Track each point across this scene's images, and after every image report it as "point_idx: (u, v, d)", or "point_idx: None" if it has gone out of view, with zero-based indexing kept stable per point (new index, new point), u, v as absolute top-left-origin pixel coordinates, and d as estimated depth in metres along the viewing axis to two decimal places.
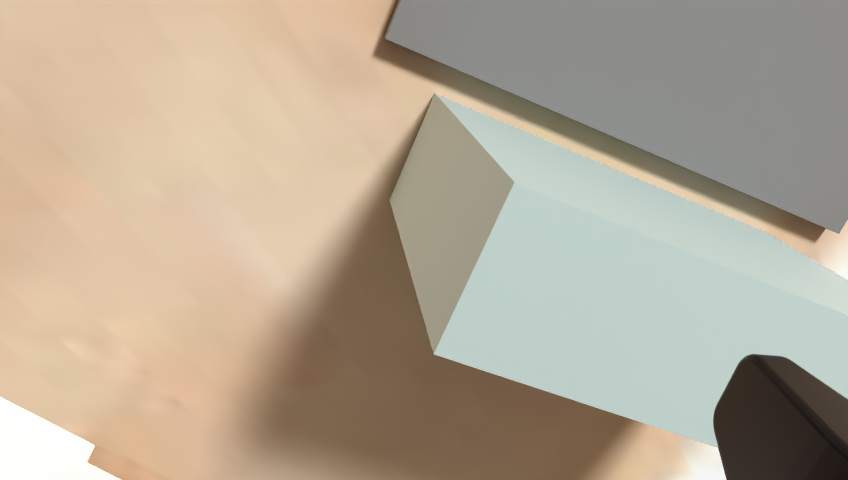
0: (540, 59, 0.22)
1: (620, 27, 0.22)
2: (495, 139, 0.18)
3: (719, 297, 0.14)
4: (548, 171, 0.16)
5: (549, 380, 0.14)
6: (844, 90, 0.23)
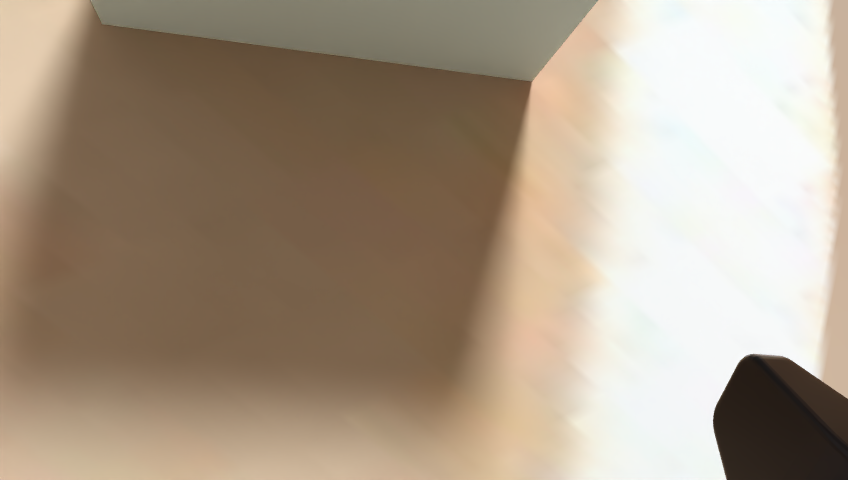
0: None
1: None
2: None
3: None
4: None
5: None
6: None
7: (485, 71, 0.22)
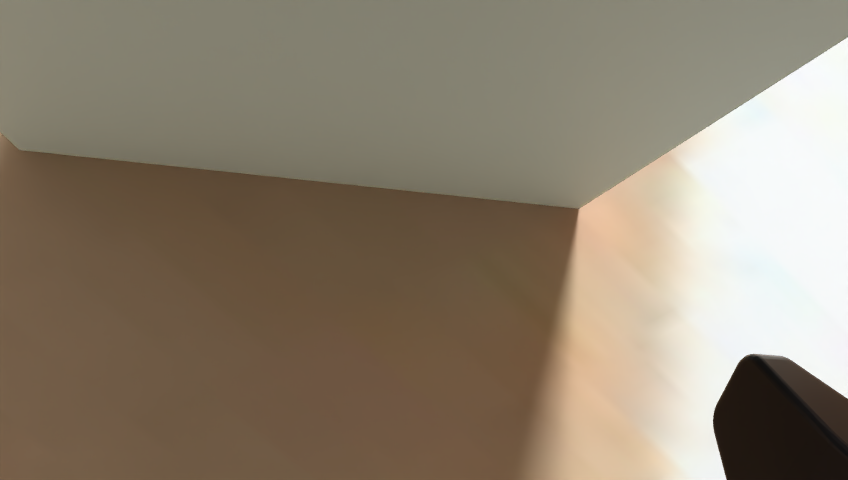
0: None
1: None
2: None
3: None
4: None
5: None
6: None
7: (521, 199, 0.17)
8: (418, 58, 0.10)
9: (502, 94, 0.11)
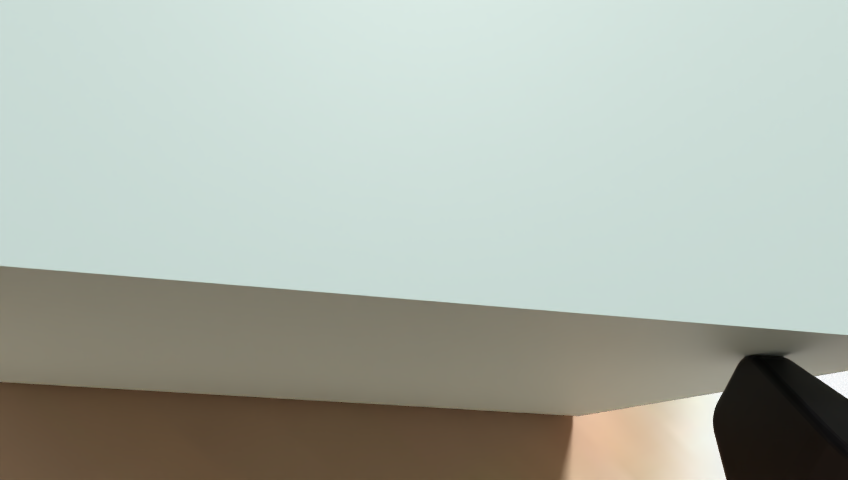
0: None
1: None
2: None
3: None
4: None
5: None
6: None
7: (517, 411, 0.16)
8: (399, 360, 0.09)
9: (494, 375, 0.10)
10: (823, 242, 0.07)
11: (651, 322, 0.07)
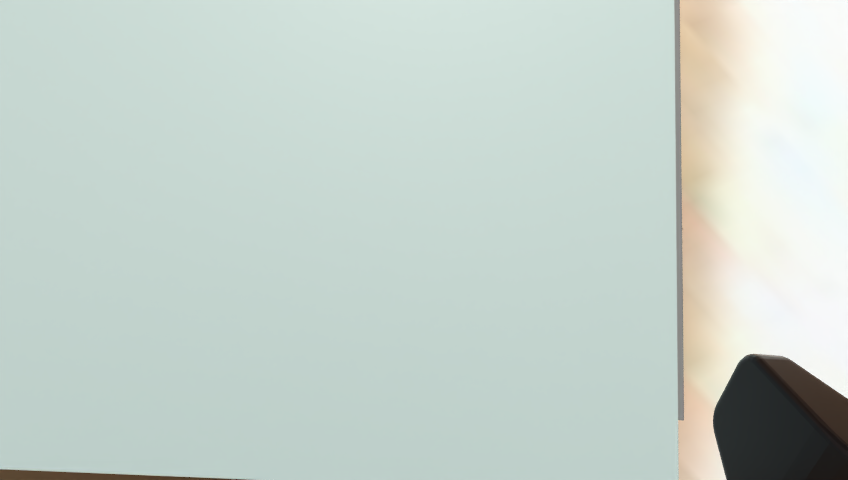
0: None
1: None
2: None
3: None
4: None
5: None
6: None
7: (591, 474, 0.12)
8: (399, 66, 0.13)
9: (482, 124, 0.13)
10: None
11: None
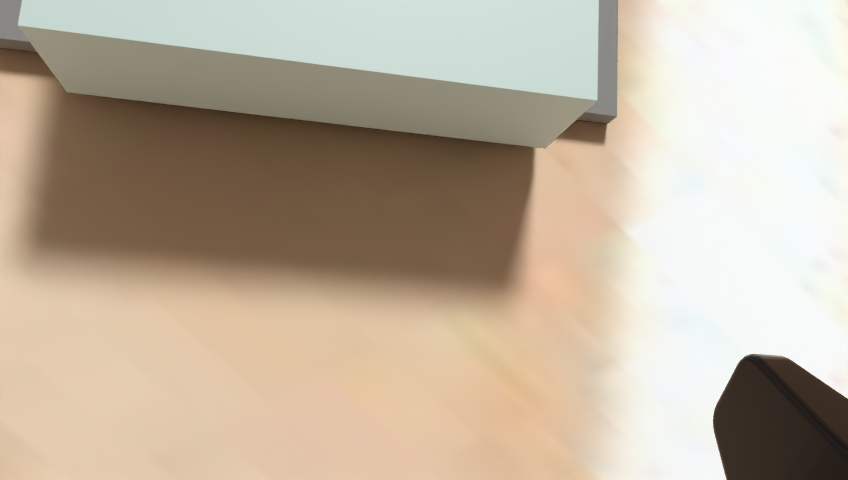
0: None
1: None
2: None
3: None
4: None
5: None
6: None
7: (535, 80, 0.17)
8: None
9: None
10: None
11: None
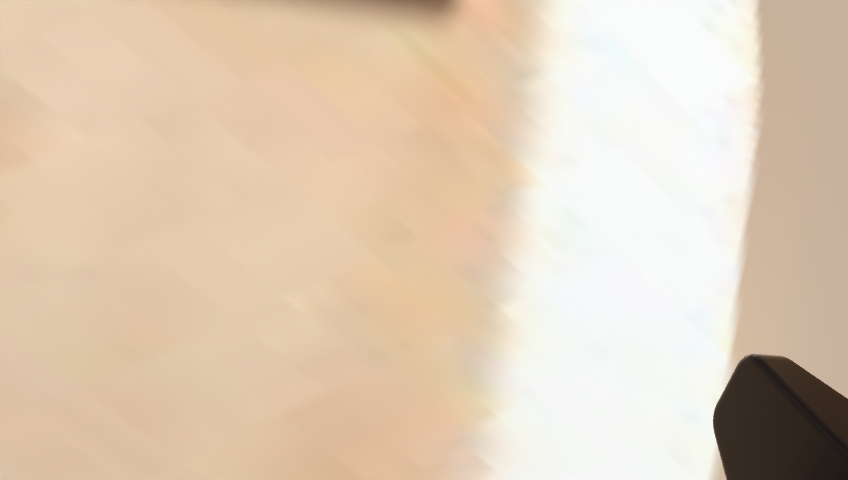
0: None
1: None
2: None
3: None
4: None
5: None
6: None
7: None
8: None
9: None
10: None
11: None
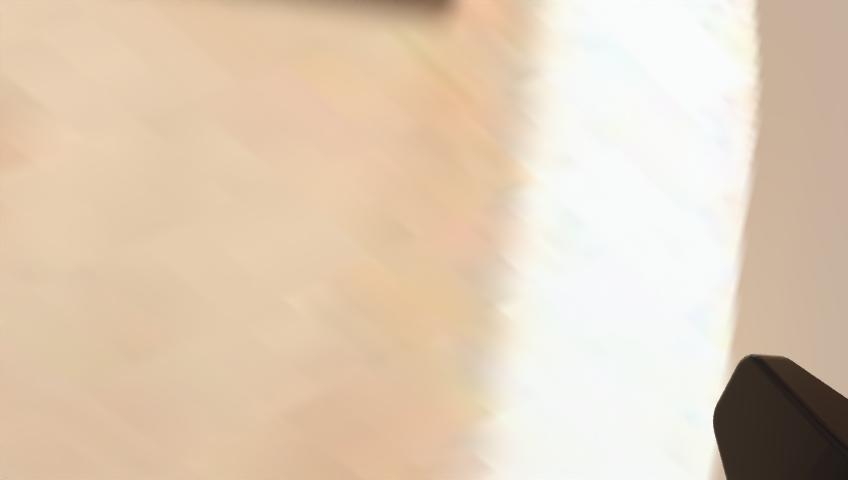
0: None
1: None
2: None
3: None
4: None
5: None
6: None
7: None
8: None
9: None
10: None
11: None
